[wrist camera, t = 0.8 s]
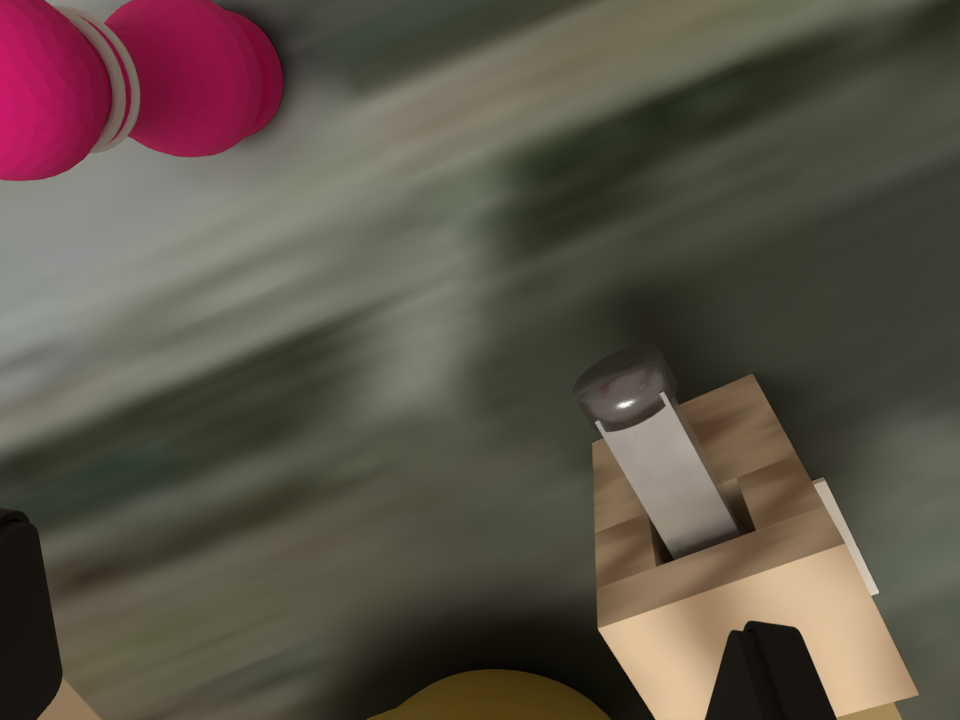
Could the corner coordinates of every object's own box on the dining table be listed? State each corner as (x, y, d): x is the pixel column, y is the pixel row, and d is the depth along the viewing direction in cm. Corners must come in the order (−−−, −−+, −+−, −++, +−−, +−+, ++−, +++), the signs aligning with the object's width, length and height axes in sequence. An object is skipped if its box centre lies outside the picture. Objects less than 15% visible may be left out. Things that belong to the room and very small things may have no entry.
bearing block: (752, 373, 40) (845, 543, 26) (806, 483, 42) (919, 695, 28) (592, 442, 43) (597, 628, 29) (650, 541, 45) (681, 759, 31)
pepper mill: (135, 44, 37) (-290, 28, 19) (242, -30, 35) (-119, -126, 17) (213, 170, 40) (-103, 264, 21) (319, 107, 37) (70, 152, 19)
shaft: (656, 333, 31) (666, 370, 27) (862, 726, 38) (893, 798, 34) (573, 372, 32) (572, 412, 28) (788, 746, 39) (809, 818, 35)
